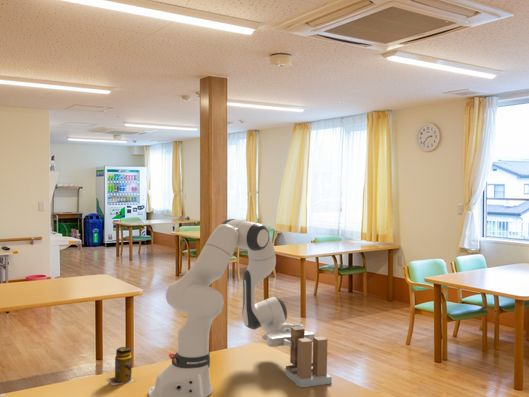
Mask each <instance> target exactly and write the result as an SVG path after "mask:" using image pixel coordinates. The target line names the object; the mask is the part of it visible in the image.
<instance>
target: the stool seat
mask: <svg viewBox="0 0 529 397" xmlns="http://www.w3.org/2000/svg"><path fill="white" fill-rule="evenodd" d="M284 370H285V372H284V375H287V376H286V377H287V378H288V379H289V380H291V381H292V383H293V382H294V384H295V385H297V386H298V387H299V388H300V389H301V388H302V387H303V388H309V387H313V386H314V387H316V386H322V385H328V384H329V385H331V384H332V380H333V379H332V376H331V375H329V374H328V373H327V372H328V339H327V337H324V336H322V335H321V336H315V337H313V342H312V341H311V340H310V339H308V338H301V339H298V356H297V366H294V365H293V364H292V365H290V364H289V365H285V368H284Z"/></svg>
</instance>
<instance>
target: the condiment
mask: <svg viewBox="0 0 529 397" xmlns="http://www.w3.org/2000/svg"><path fill="white" fill-rule="evenodd" d="M115 352H116V354H115V357H114V377H108V378H106V379H107V382H109V384H110V385H111V386H117V385H122V384H123V385H124V384H127V383H134V382H135V380H134V379H133V377H132V370H133V369H132V363H133V362H132V361H133V360H132V359H133V358H132V357H133V356H132V353H131V352H132V349H131V347H129V346H121V347H118V348H117V349H116V351H115Z"/></svg>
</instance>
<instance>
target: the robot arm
mask: <svg viewBox="0 0 529 397" xmlns="http://www.w3.org/2000/svg"><path fill="white" fill-rule="evenodd" d="M236 248H238V249H241V250H247V256H248V264H247V267H246V270H245V271H244V272H243V277H242V301H243V302H242V311H241V312H242V314H241V316H242V321H243V323H244V325H245V327H247V328H249V329H250V330H254V331H255V330H257V329H259V328H261V327H262V328H263V331H264V333H265V334H264V335H262V339H263V340H264V341H265V343H266V345H267V346H268V347H271V348H273V347H282V346H283V347H284V346H288V347H289V348H291V347H293V346H294V345H293V344H294V342H293V341H291V327H298V326H300V327H302V328H304V329H305V331H304V338H308V339H310V340H311V341H312V343H313V337H316V334H315V332H314V331H312V330H311V329H310V328H308V327H307V328H306V327H305V325H303V324H301V323H300V324H295V323H291V322H290V323H289V322H287V319H288V310H287V308H286V305H285V303H284V301H283V300H282V299H280V298H279V297H277V296H272V297H269V298H266V299H264V300H261V301H258V302H256V298H255V296H256V295H255V294H256V293H255V292H256V291H255V290H256V288H257V286H258V285H259V284H260V283H261V282H262V281H264V279H265V278H267V277H268V276H270V275H271V273H273V271H274V269H275V267H276V264H277V256H276V251H275V247H274V243H273V240H272V238H271V234H270V232H269V230H268V228H267V227H266V226H265V225H263V224H261V223H258V222H253V221H248V220H245V219H234V218H230V219H226V220H224V221H222V223H221V224H218V226H216V227H215V229H214V230H213V231H212V233H211V234H210V235H209V237H208V238H207V240H206V242H205V244H204V245H203V247H202V249H201V251H200V254H199V255H198V256H197V259H196V261H195V262H194V263H193V265H192V266H191V267H190V268H189V269H188V270H187V272H185V274H184V275H182V276H181V277H180V278H179V279H178V280H175V281H173V282H171V283H170V285H169V286H168V287H167V289H166V292H165V300H166V302H167V304H168V305H169V306H170V307H172V308H173V309H175V310H176V311H179V312H182V313H185V314H186V321H185V323H184V325H182V326H181V327H180V328H179V330H178V332H177V352H176V353H174V352H172V351H170V352H169V353H168V357H169V359H170V360H171V364H169V365H168V366H167V367H166V368H165V369H163V370H162V371H160V373H158V374H157V376H156V378H155V379H156V380H155V384H154V385H153V386H151V387H149V389H148V393H147V394H148V397H209V396H210V395H212V393H213V387H212V383H211V377H210V365H211V353H210V351H209V348H210V331H211V327H212V324H213V322H214V320H215V319H216V317H218V316H219V315H220V314H221V313H222V311H223V308H224V305H225V304H224V303H225V302H224V300H225V299H224V296H223V294H222V293H221V292H220V291H218V290H217V289H215V288H214V287H212V286H210V285H211V284H212V283H214V282H215V281H217V280H220V279H221V278H222V277H223V276H224V273H225V271H226V270H227V267H228V265H229V263H230V261H231V260H232V257H233V255H234V253H235V251H236ZM255 302H256V303H255Z"/></svg>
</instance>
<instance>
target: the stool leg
mask: <svg viewBox="0 0 529 397" xmlns="http://www.w3.org/2000/svg"><path fill="white" fill-rule="evenodd" d="M304 328H305V327H304ZM304 328H302V327H300V326H298V327H291V341H293V342H294V344H293V345H294V346H293V347H290V350H289V352H290V359H289V360H290V364H292V365H294V366H297V356H298V339H301V338H304V331H305V329H304Z"/></svg>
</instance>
